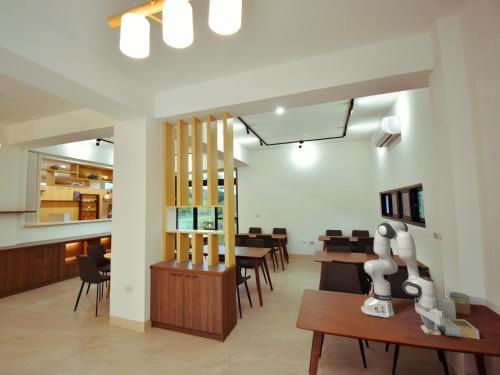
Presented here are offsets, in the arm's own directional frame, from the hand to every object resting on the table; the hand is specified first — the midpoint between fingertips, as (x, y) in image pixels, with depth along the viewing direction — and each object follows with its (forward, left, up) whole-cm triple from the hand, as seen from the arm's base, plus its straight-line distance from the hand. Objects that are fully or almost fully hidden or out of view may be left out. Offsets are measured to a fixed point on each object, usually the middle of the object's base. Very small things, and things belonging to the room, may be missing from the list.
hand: (430, 325), depth 150 cm
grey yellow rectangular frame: (+15, +4, -3) cm, 16 cm away
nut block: (0, 0, -1) cm, 1 cm away
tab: (0, 0, -3) cm, 3 cm away
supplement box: (+20, +24, -4) cm, 31 cm away
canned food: (+35, +38, -4) cm, 52 cm away
